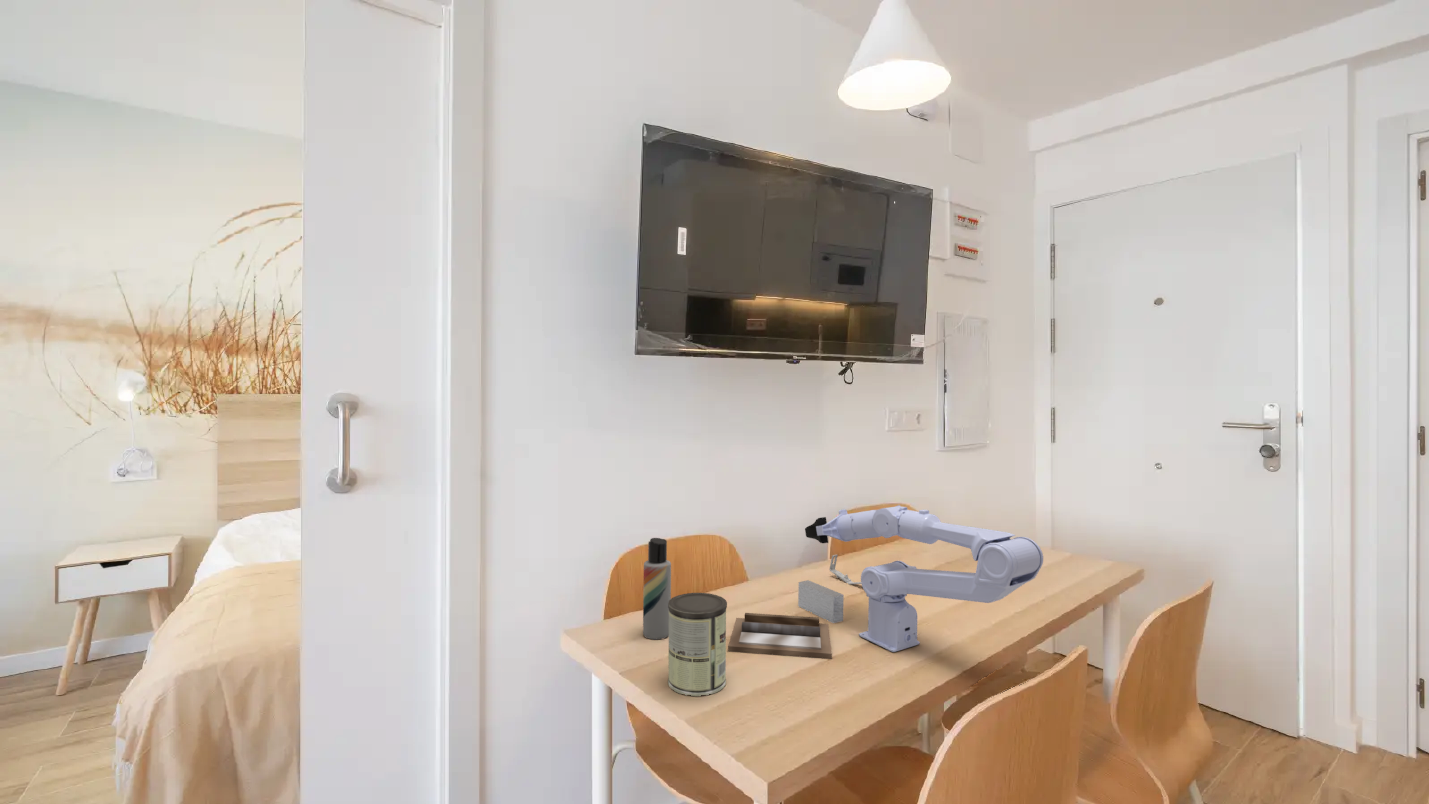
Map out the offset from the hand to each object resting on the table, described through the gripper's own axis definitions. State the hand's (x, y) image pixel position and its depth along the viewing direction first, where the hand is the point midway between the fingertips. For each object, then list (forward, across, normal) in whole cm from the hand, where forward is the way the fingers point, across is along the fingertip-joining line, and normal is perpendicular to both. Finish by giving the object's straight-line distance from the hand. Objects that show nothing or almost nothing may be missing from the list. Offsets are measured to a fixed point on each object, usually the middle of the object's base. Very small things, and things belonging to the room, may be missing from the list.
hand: (818, 531), depth 140 cm
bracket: (+14, -21, +15) cm, 29 cm away
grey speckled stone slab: (+3, +1, +19) cm, 19 cm away
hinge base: (-3, +18, +21) cm, 28 cm away
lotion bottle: (+12, +39, +17) cm, 44 cm away
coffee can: (-10, +42, +23) cm, 49 cm away
